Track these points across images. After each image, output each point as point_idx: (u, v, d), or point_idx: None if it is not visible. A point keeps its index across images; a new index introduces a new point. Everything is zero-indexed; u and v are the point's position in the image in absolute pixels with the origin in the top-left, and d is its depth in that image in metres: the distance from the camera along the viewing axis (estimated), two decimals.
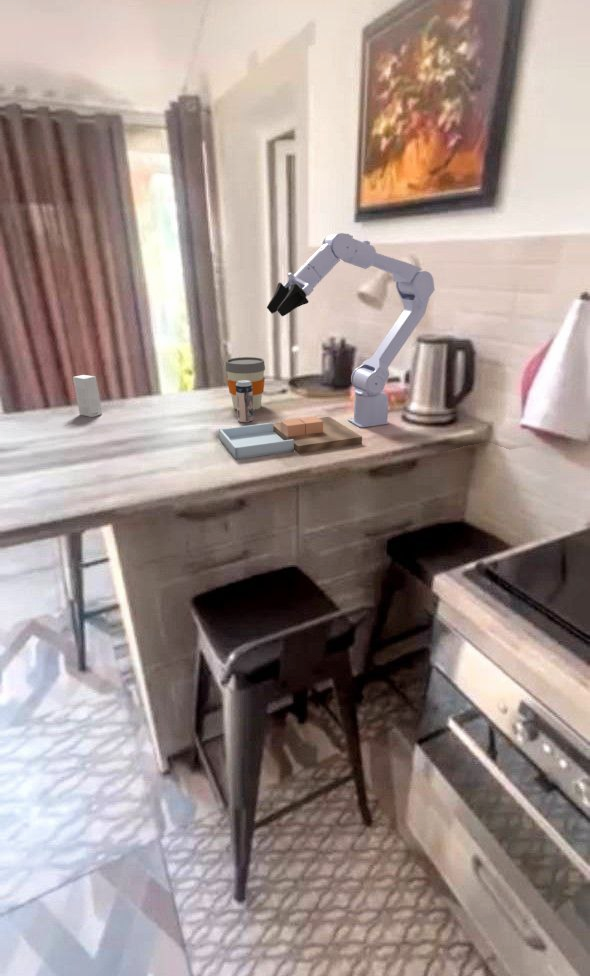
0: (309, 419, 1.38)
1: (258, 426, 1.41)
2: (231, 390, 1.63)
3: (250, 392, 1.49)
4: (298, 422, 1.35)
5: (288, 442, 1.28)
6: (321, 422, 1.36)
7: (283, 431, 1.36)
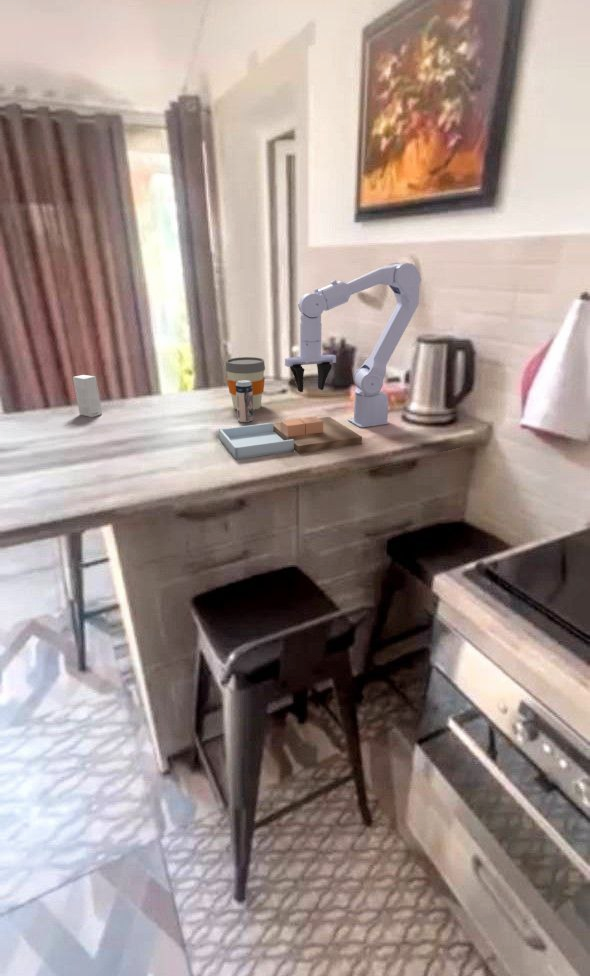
0: (309, 419, 1.38)
1: (258, 426, 1.41)
2: (231, 390, 1.63)
3: (250, 392, 1.49)
4: (298, 422, 1.35)
5: (288, 442, 1.28)
6: (321, 422, 1.36)
7: (283, 431, 1.36)
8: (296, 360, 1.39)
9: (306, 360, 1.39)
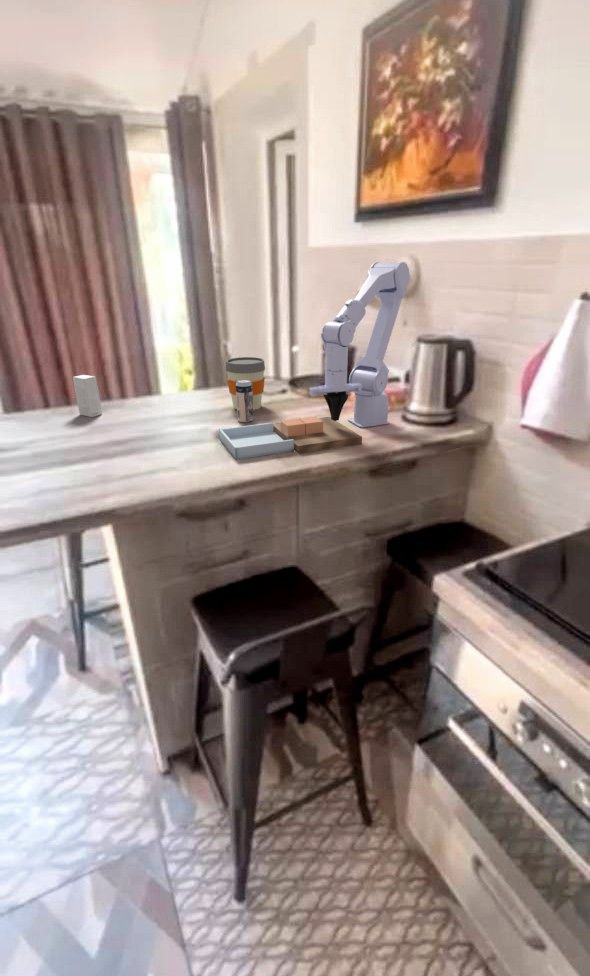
0: (309, 419, 1.38)
1: (258, 426, 1.41)
2: (231, 390, 1.63)
3: (250, 392, 1.49)
4: (298, 422, 1.35)
5: (288, 442, 1.28)
6: (321, 422, 1.36)
7: (283, 431, 1.36)
8: (321, 390, 1.34)
9: (331, 390, 1.34)
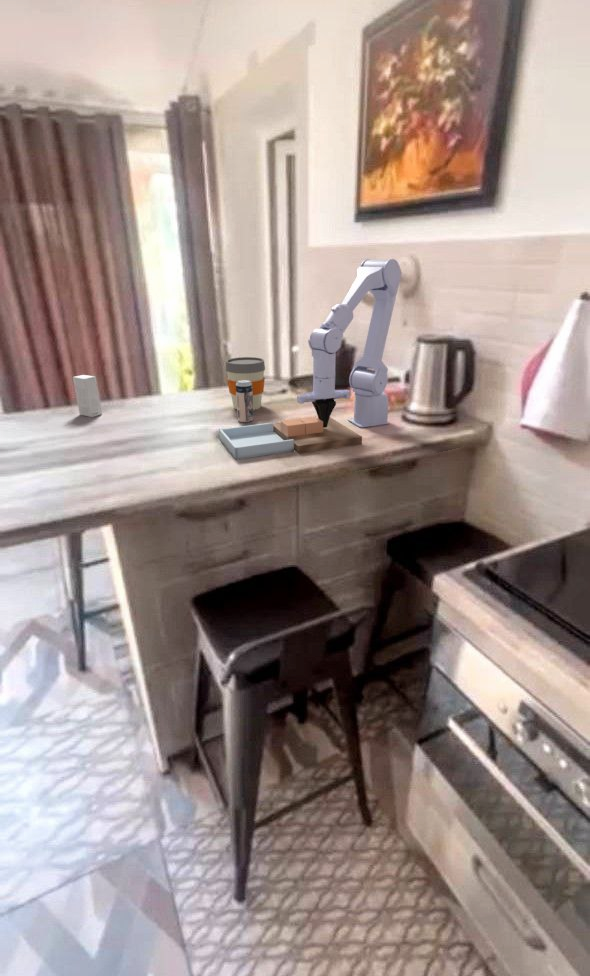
0: (309, 419, 1.38)
1: (258, 426, 1.41)
2: (231, 390, 1.63)
3: (250, 392, 1.49)
4: (298, 422, 1.35)
5: (288, 442, 1.28)
6: (321, 422, 1.36)
7: (283, 431, 1.36)
8: (309, 397, 1.33)
9: (319, 397, 1.33)
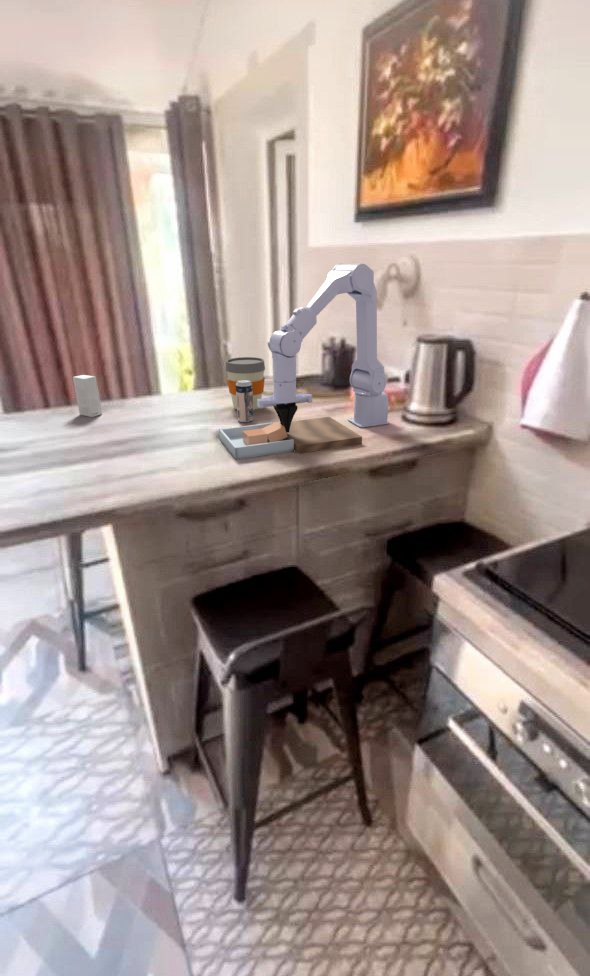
0: (271, 427, 1.34)
1: (258, 426, 1.41)
2: (231, 390, 1.63)
3: (250, 392, 1.49)
4: (260, 433, 1.32)
5: (288, 442, 1.28)
6: (282, 428, 1.32)
7: (245, 441, 1.33)
8: (269, 401, 1.29)
9: (279, 401, 1.29)
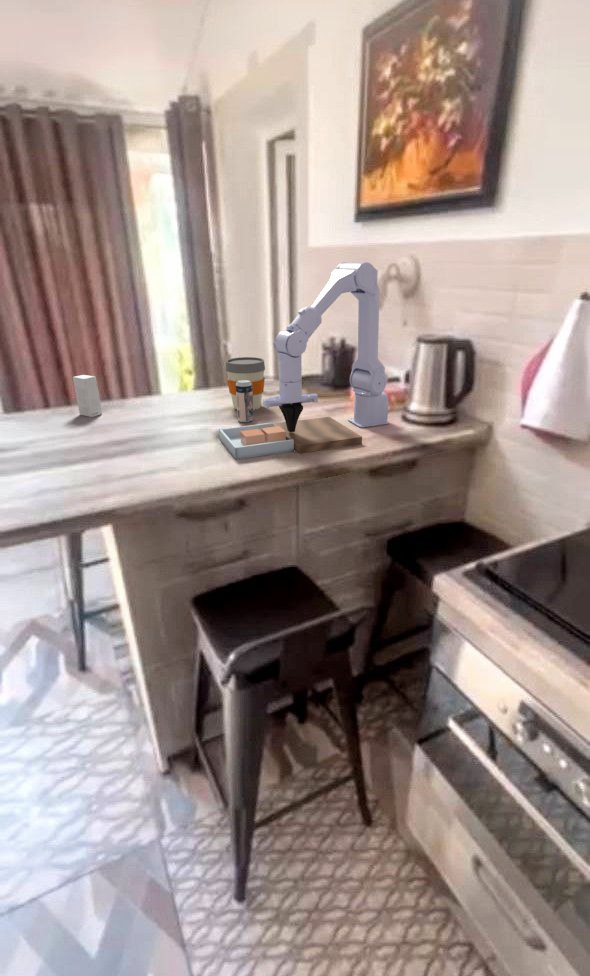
0: (272, 429, 1.35)
1: (258, 426, 1.41)
2: (231, 390, 1.63)
3: (250, 392, 1.49)
4: (258, 433, 1.32)
5: (288, 442, 1.28)
6: (283, 432, 1.33)
7: (242, 442, 1.33)
8: (275, 401, 1.30)
9: (285, 401, 1.30)
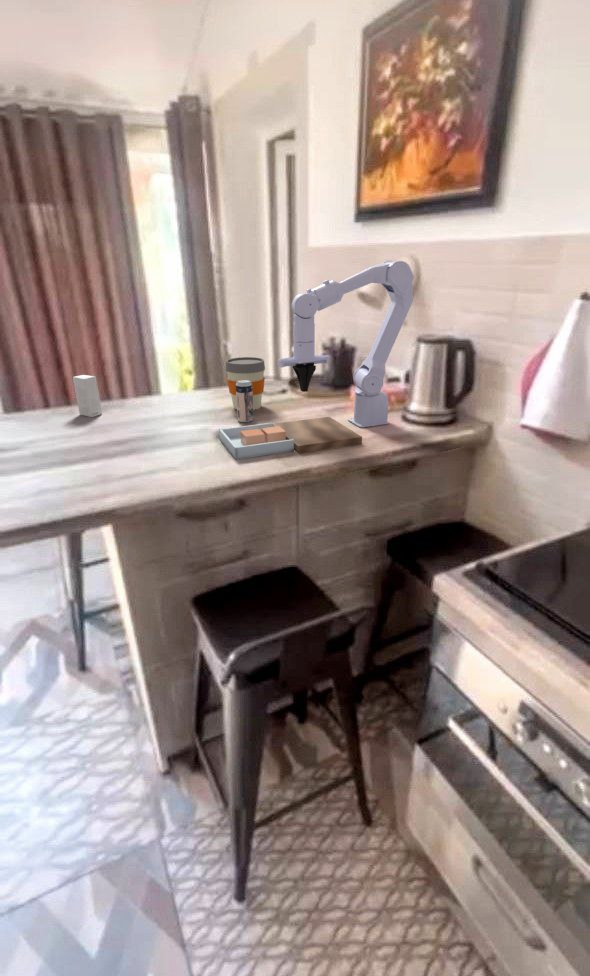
0: (272, 429, 1.35)
1: (258, 426, 1.41)
2: (231, 390, 1.63)
3: (250, 392, 1.49)
4: (258, 433, 1.32)
5: (288, 442, 1.28)
6: (283, 432, 1.33)
7: (242, 442, 1.33)
8: (289, 361, 1.38)
9: (299, 361, 1.38)
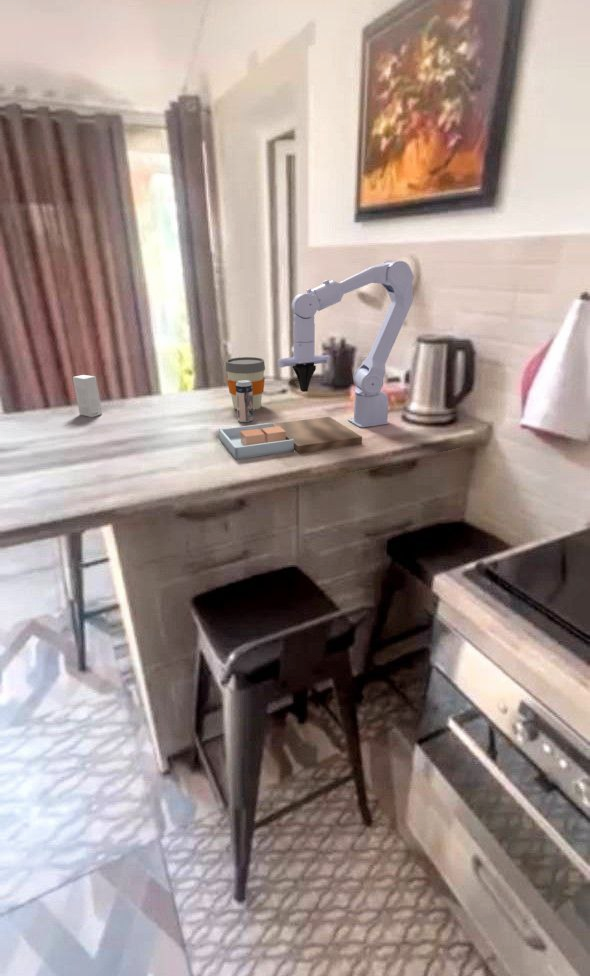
0: (272, 429, 1.35)
1: (258, 426, 1.41)
2: (231, 390, 1.63)
3: (250, 392, 1.49)
4: (258, 433, 1.32)
5: (288, 442, 1.28)
6: (283, 432, 1.33)
7: (242, 442, 1.33)
8: (289, 361, 1.38)
9: (299, 361, 1.38)
